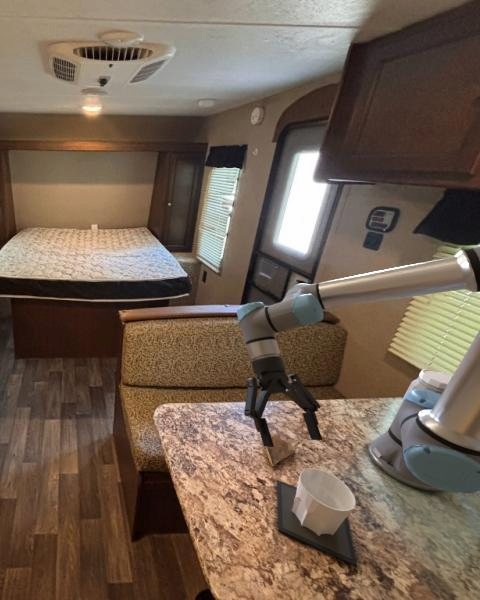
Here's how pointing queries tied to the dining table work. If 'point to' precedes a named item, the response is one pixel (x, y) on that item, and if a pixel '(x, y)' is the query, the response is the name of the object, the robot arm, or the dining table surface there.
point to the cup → (322, 501)
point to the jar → (429, 382)
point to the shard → (278, 450)
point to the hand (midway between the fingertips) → (293, 443)
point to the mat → (291, 526)
